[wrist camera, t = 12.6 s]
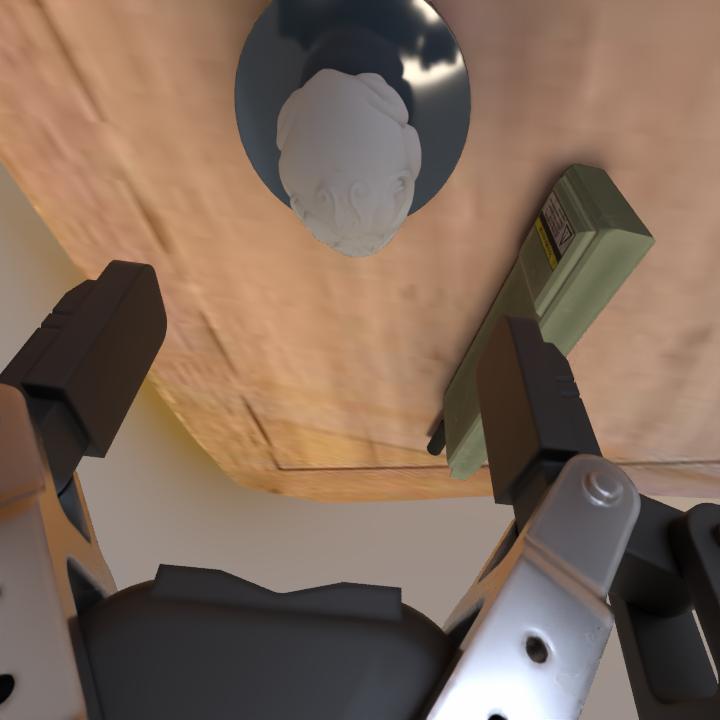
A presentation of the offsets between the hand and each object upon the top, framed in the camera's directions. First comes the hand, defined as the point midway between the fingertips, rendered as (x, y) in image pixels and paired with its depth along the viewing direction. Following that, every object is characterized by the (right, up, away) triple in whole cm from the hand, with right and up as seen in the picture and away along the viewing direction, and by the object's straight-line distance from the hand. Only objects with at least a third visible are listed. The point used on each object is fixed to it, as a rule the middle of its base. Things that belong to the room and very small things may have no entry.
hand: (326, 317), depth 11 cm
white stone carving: (0, +10, +11) cm, 15 cm away
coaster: (0, +11, +11) cm, 15 cm away
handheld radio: (+10, +1, +21) cm, 23 cm away
